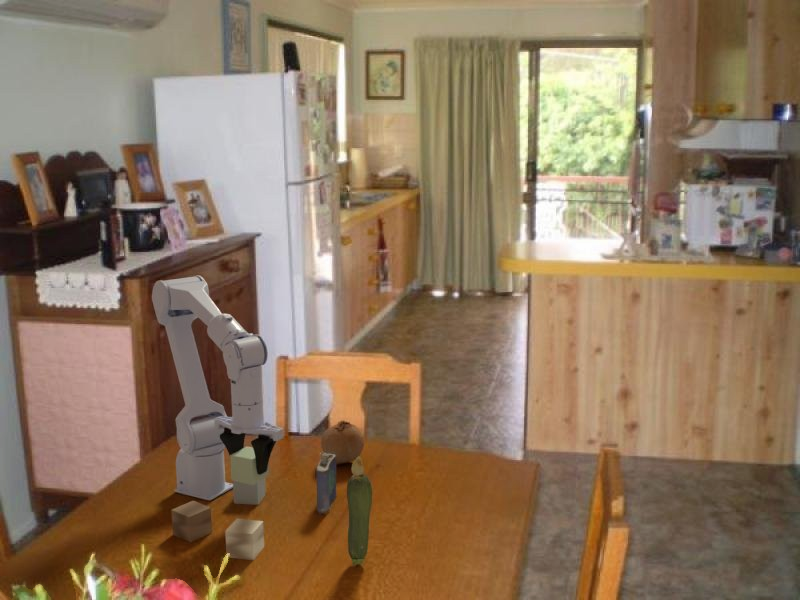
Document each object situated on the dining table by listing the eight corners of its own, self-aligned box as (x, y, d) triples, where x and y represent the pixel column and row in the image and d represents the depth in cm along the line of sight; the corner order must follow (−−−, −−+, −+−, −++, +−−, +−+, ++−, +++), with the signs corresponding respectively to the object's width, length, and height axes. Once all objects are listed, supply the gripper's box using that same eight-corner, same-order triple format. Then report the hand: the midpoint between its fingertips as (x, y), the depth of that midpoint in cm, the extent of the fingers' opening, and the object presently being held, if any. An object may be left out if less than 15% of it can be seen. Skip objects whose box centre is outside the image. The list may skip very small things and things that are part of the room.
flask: (328, 514, 171) (326, 462, 169) (313, 514, 171) (311, 461, 169) (338, 494, 180) (337, 444, 178) (324, 494, 180) (322, 444, 178)
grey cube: (233, 503, 176) (232, 480, 175) (241, 493, 181) (240, 470, 180) (258, 505, 176) (257, 481, 175) (265, 494, 180) (264, 471, 179)
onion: (363, 472, 191) (362, 428, 189) (319, 472, 191) (318, 428, 189) (365, 455, 200) (364, 413, 198) (323, 455, 201) (322, 413, 198)
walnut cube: (173, 535, 163) (171, 509, 162) (194, 525, 167) (193, 500, 166) (190, 542, 160) (188, 517, 159) (212, 532, 164) (210, 507, 163)
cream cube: (226, 557, 155) (225, 531, 154) (238, 544, 160) (237, 518, 159) (253, 560, 154) (252, 534, 153) (264, 547, 159) (263, 521, 158)
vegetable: (347, 557, 155) (345, 448, 151) (372, 556, 155) (371, 447, 151) (348, 570, 150) (346, 458, 146) (373, 568, 151) (372, 457, 147)
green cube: (231, 480, 167) (230, 455, 166) (248, 470, 171) (246, 446, 170) (252, 485, 164) (251, 459, 163) (269, 475, 169) (268, 450, 168)
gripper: (202, 401, 165) (206, 470, 167) (265, 413, 158) (268, 484, 161) (226, 390, 171) (230, 457, 174) (289, 402, 164) (291, 471, 167)
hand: (250, 469), depth 168 cm, fingers closed on green cube, 5 cm apart
